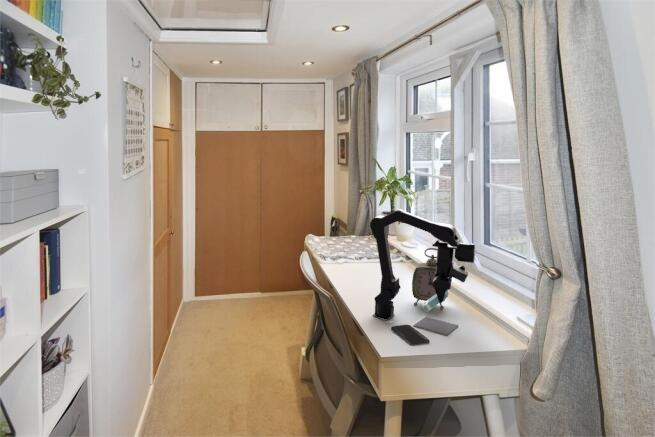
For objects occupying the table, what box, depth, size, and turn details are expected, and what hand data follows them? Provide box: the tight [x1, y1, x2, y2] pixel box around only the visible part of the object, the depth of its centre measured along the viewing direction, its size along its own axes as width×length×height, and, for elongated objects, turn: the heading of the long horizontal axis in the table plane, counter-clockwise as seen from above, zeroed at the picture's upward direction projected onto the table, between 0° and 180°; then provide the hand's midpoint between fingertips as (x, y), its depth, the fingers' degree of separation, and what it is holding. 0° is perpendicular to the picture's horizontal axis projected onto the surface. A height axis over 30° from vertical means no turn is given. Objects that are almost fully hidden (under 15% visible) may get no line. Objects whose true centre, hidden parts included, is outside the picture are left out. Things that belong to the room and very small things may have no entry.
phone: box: [390, 324, 430, 346], centre depth 161 cm, size 8×1×15 cm
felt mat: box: [413, 316, 459, 337], centre depth 170 cm, size 13×11×1 cm
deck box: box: [421, 290, 449, 313], centre depth 169 cm, size 2×5×10 cm
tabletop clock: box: [411, 247, 449, 311], centre depth 189 cm, size 14×9×25 cm, turn 73°
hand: (441, 300), depth 168 cm, fingers closed on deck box, 5 cm apart
